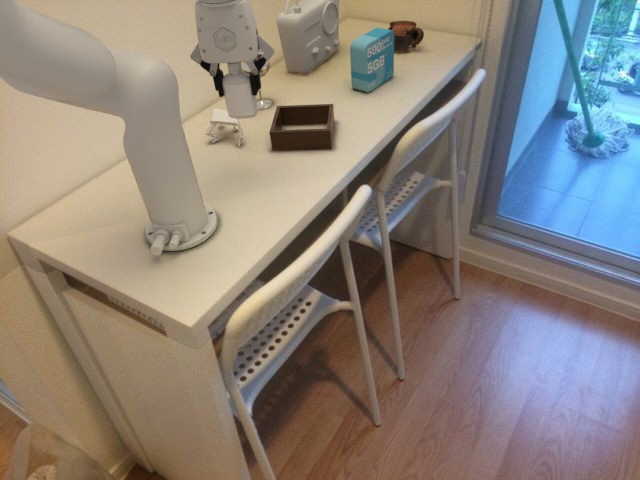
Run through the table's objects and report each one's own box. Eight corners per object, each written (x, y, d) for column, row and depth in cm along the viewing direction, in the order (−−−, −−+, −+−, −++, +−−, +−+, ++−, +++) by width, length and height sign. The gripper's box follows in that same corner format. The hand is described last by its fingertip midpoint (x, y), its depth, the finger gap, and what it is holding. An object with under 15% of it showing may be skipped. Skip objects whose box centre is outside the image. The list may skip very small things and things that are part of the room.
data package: (366, 94, 129) (364, 45, 121) (351, 90, 131) (349, 41, 123) (394, 76, 135) (394, 28, 127) (379, 72, 138) (379, 25, 130)
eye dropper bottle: (247, 123, 100) (235, 61, 92) (225, 116, 103) (212, 55, 95) (261, 113, 102) (252, 52, 95) (240, 107, 105) (228, 47, 97)
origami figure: (196, 140, 118) (191, 120, 115) (222, 123, 123) (218, 104, 120) (237, 153, 113) (232, 133, 109) (262, 135, 117) (258, 115, 114)
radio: (308, 80, 137) (297, -24, 121) (281, 75, 141) (268, -27, 125) (347, 48, 151) (343, -49, 135) (322, 45, 155) (315, -50, 138)
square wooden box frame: (331, 149, 111) (330, 130, 108) (272, 151, 112) (269, 132, 109) (334, 122, 120) (333, 103, 117) (279, 124, 121) (276, 105, 118)
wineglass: (278, 107, 127) (271, 58, 119) (250, 113, 126) (242, 64, 118) (272, 95, 132) (265, 47, 124) (245, 101, 131) (236, 53, 123)
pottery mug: (378, 52, 148) (380, 21, 147) (397, 57, 155) (400, 27, 154) (414, 49, 140) (416, 16, 139) (433, 54, 147) (436, 23, 146)
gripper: (163, 1, 86) (190, 104, 98) (268, -6, 84) (282, 100, 96) (176, -13, 92) (200, 86, 103) (274, -19, 90) (287, 82, 101)
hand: (239, 92), depth 99 cm, fingers closed on eye dropper bottle, 5 cm apart
